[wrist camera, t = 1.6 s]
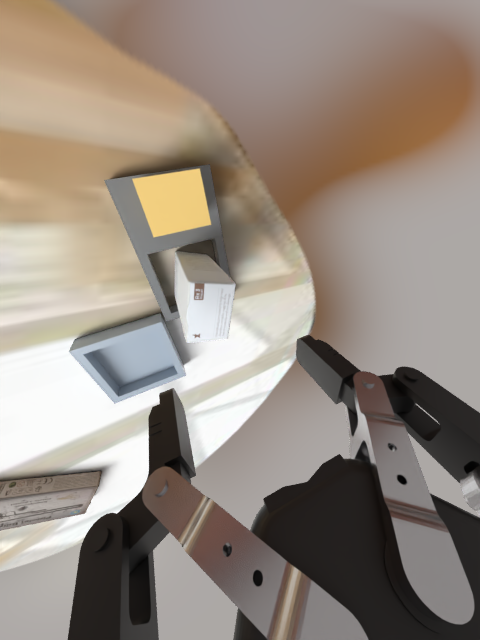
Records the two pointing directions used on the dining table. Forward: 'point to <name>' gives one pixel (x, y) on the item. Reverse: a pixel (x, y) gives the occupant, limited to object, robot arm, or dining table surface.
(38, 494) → the box
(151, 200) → the block
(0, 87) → the dining table surface
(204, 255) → the skincare box
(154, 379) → the tray
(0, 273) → the dining table surface
